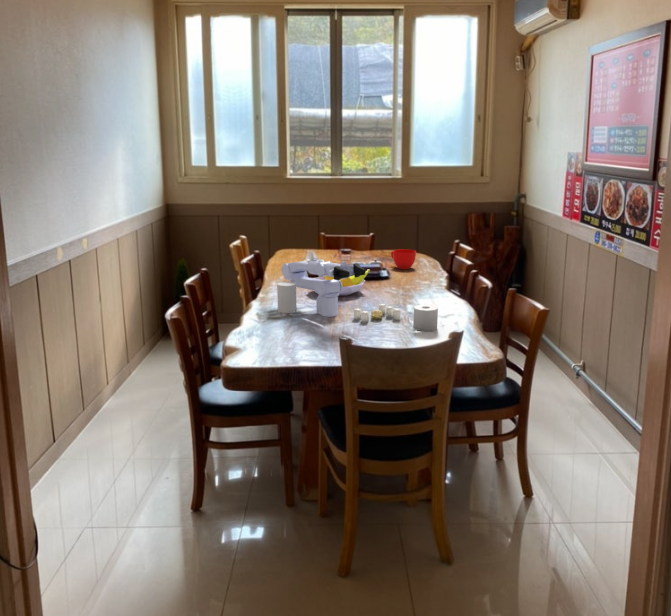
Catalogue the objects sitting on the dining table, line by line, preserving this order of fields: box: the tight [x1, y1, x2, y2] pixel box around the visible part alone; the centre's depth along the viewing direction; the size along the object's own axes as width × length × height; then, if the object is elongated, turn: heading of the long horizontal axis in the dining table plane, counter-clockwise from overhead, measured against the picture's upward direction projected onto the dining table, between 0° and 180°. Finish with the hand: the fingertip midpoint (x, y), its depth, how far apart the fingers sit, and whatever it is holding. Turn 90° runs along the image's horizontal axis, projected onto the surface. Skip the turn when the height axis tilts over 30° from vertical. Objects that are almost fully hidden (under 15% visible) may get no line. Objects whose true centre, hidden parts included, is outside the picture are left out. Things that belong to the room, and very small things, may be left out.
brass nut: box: [370, 309, 382, 320], centre depth 265 cm, size 5×5×3 cm
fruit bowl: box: [313, 269, 371, 297], centre depth 312 cm, size 28×27×11 cm
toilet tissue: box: [412, 304, 439, 333], centre depth 256 cm, size 9×13×9 cm
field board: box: [350, 314, 402, 327], centre depth 266 cm, size 13×17×1 cm
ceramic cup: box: [390, 248, 417, 270], centre depth 372 cm, size 13×17×10 cm
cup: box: [276, 281, 298, 314], centre depth 280 cm, size 8×8×12 cm
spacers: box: [353, 303, 401, 324], centre depth 265 cm, size 12×16×4 cm
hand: (356, 273), depth 252 cm, fingers open, 7 cm apart
